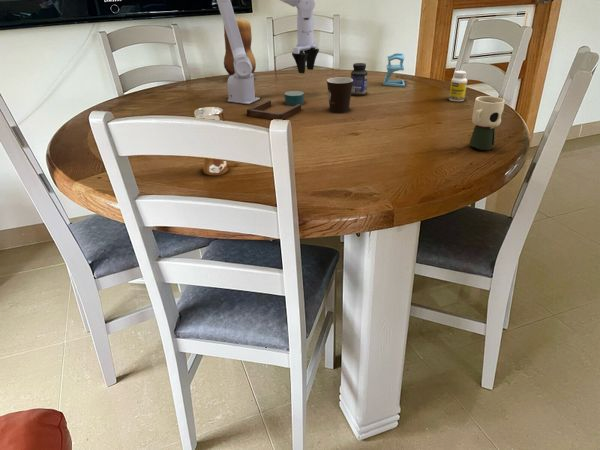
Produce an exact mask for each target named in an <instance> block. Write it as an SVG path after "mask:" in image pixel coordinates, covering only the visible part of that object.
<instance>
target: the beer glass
mask: <svg viewBox="0 0 600 450" xmlns="http://www.w3.org/2000/svg"><path fill="white" fill-rule="evenodd" d="M193 114H194V118H195V117H196V118H205V119H215V120H223V121H225V116H224V109H223V108H221V107H217V106H206V107H200V108H197V109H195V110H194V113H193ZM225 122H226V121H225ZM202 158H203V157H202ZM202 160H203V165H202V166H203V168H202V171H203V173H204V174H205V175H207V176H221V175H224V174H226V173H227V172H228V171H229V166H228V162H227V160H226V161H222V160H215V159H207V158H203V159H202Z"/></svg>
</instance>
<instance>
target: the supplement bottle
mask: <svg viewBox="0 0 600 450" xmlns="http://www.w3.org/2000/svg"><path fill="white" fill-rule="evenodd" d="M467 73H468V72H467V71H465V70H455V71H454V75H453V76H454V77H452V78H451V81H450V86H449V94H448V95H449V96H448V100H449V101H451V102H457V103H458V102H459V103H460V102H463V101H465V97H466V92H467V88H468V79H467V78H466V77H467Z"/></svg>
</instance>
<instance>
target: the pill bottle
mask: <svg viewBox="0 0 600 450" xmlns="http://www.w3.org/2000/svg"><path fill="white" fill-rule="evenodd" d="M352 68H353V69H352V70H351V72H350V79H353V84H352V91H351V96H354V97H363V96H366V95H367V92H368V87H367V86H368V71H367V70H366V69H367V63H365V62H355V63H353V64H352Z"/></svg>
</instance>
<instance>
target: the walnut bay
mask: <svg viewBox="0 0 600 450" xmlns="http://www.w3.org/2000/svg"><path fill="white" fill-rule="evenodd" d="M271 107H272V100H269V99H267V100H266V101H263V102H261V103H258V104H257V105H254V106H252V107H250V108H248V109H246V116H247V117H254V118H258V119H259V118H260V119H265V120H266V119H268V120H273V119H283V120H282V121H284V120H286V119H288V118H290V117H292V116H294V115H295V114H297V113H299V112H302V105H301V104H297V105H295V106H292V107H289V108H288V109H286V110H284V111H282V112H274V111H267V110H266V109H269V108H271ZM265 110H266V111H265Z"/></svg>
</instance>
